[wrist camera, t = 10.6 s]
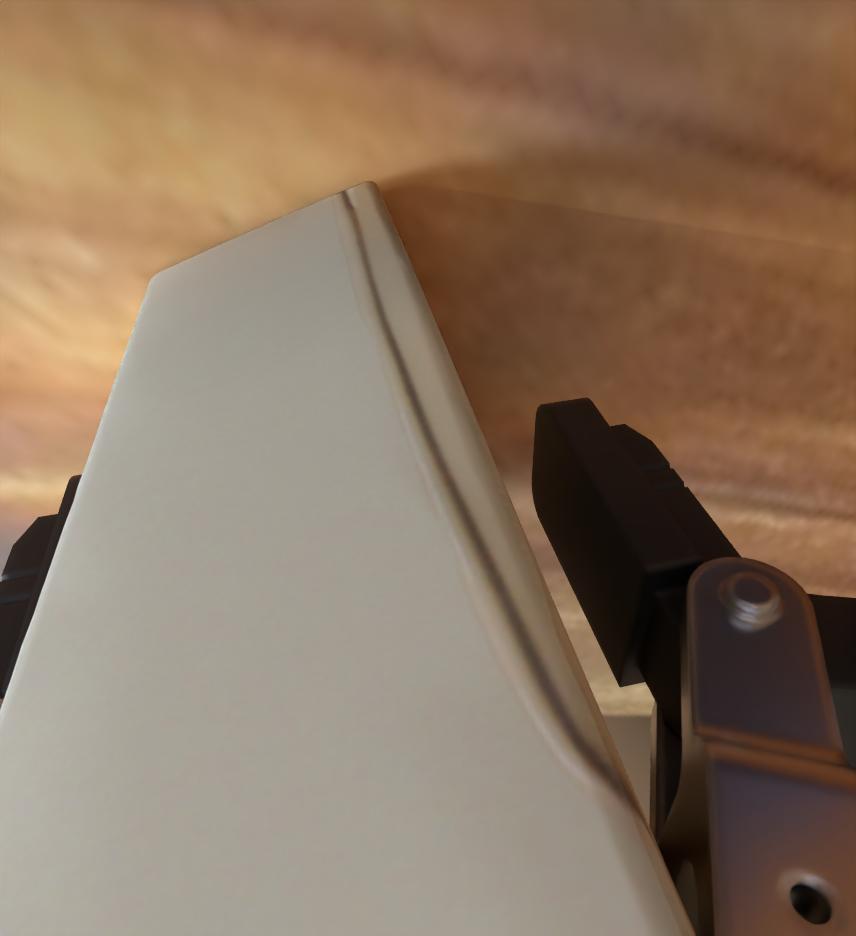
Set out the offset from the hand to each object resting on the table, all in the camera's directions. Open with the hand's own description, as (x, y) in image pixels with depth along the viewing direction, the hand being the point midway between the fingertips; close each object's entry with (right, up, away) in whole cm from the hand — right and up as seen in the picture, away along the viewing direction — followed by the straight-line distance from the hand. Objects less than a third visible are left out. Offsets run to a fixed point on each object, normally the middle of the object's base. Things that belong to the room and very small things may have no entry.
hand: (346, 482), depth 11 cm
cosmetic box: (-1, +2, +3) cm, 4 cm away
